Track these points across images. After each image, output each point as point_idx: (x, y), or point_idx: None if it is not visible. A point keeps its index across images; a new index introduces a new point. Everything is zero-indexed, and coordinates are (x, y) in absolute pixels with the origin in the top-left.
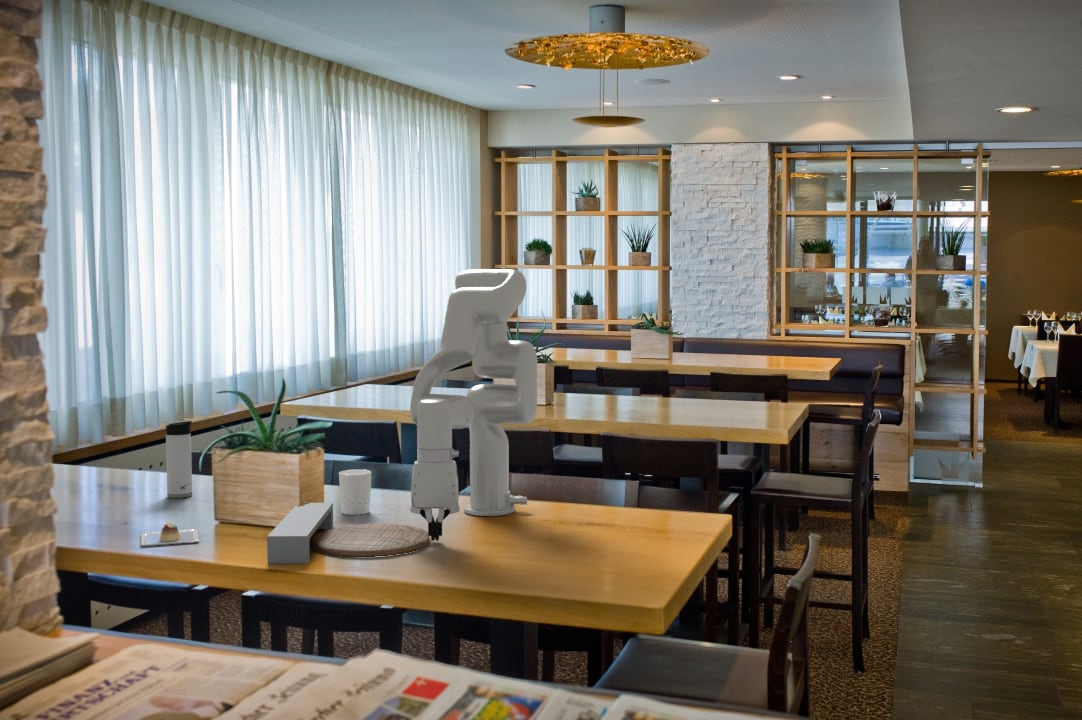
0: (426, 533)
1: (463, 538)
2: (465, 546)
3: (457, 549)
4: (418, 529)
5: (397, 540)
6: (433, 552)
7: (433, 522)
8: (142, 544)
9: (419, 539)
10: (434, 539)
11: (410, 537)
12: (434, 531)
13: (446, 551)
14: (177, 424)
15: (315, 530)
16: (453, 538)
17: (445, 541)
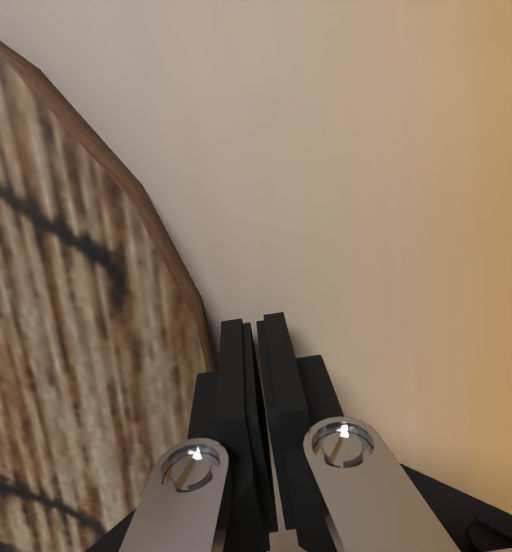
0: (157, 294)
1: (469, 171)
2: (480, 401)
3: (429, 469)
4: (10, 127)
5: (9, 523)
6: (293, 540)
7: (267, 537)
8: None
9: None
10: (265, 413)
11: (69, 439)
12: (269, 454)
13: None
14: None
15: None
16: (382, 181)
17: (327, 289)
